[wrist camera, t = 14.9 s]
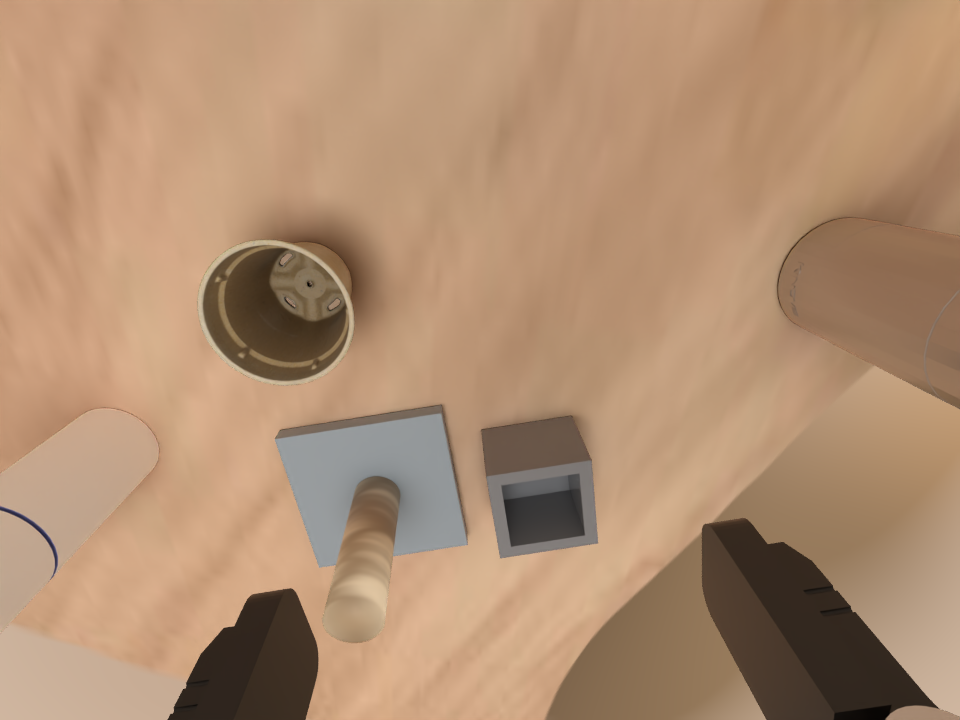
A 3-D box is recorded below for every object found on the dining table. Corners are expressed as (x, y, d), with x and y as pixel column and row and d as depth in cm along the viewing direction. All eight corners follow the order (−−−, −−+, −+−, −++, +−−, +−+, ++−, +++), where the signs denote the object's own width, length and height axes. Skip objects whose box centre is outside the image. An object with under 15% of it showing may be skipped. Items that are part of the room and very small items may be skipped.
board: (441, 404, 45) (441, 413, 43) (467, 533, 50) (467, 544, 49) (280, 430, 45) (274, 439, 43) (323, 556, 50) (319, 567, 49)
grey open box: (571, 415, 46) (591, 460, 39) (578, 490, 49) (598, 543, 42) (481, 429, 46) (486, 476, 39) (493, 503, 49) (500, 558, 42)
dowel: (394, 472, 45) (376, 594, 33) (404, 509, 47) (390, 637, 35) (349, 480, 45) (314, 604, 33) (360, 516, 47) (331, 647, 35)
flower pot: (349, 358, 43) (326, 406, 35) (233, 313, 41) (180, 354, 33) (391, 252, 40) (375, 279, 32) (268, 198, 38) (218, 213, 30)
